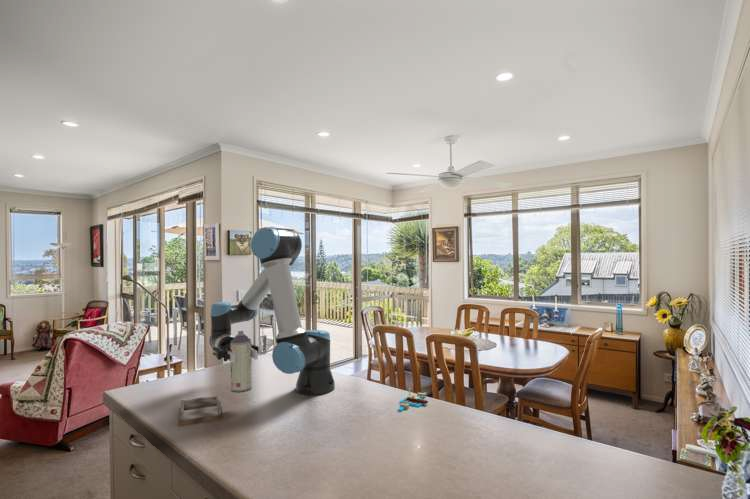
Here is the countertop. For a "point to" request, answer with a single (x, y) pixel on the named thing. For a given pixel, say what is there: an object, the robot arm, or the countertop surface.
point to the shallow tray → (200, 410)
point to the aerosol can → (241, 364)
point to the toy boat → (412, 399)
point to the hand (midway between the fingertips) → (245, 357)
